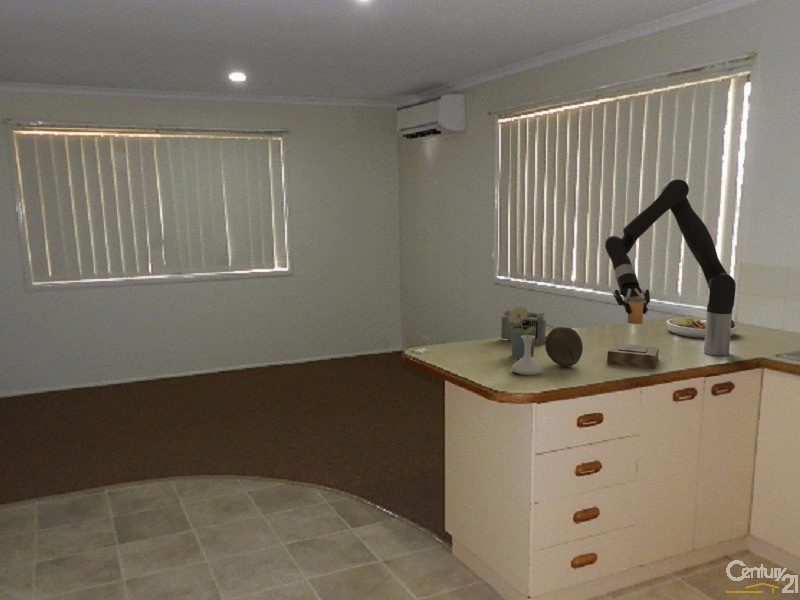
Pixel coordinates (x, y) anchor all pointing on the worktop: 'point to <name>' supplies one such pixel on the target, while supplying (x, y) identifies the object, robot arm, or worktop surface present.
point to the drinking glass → (520, 341)
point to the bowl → (692, 327)
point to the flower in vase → (526, 362)
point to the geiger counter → (536, 322)
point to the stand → (633, 355)
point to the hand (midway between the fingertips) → (637, 312)
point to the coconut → (564, 346)
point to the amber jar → (636, 310)
